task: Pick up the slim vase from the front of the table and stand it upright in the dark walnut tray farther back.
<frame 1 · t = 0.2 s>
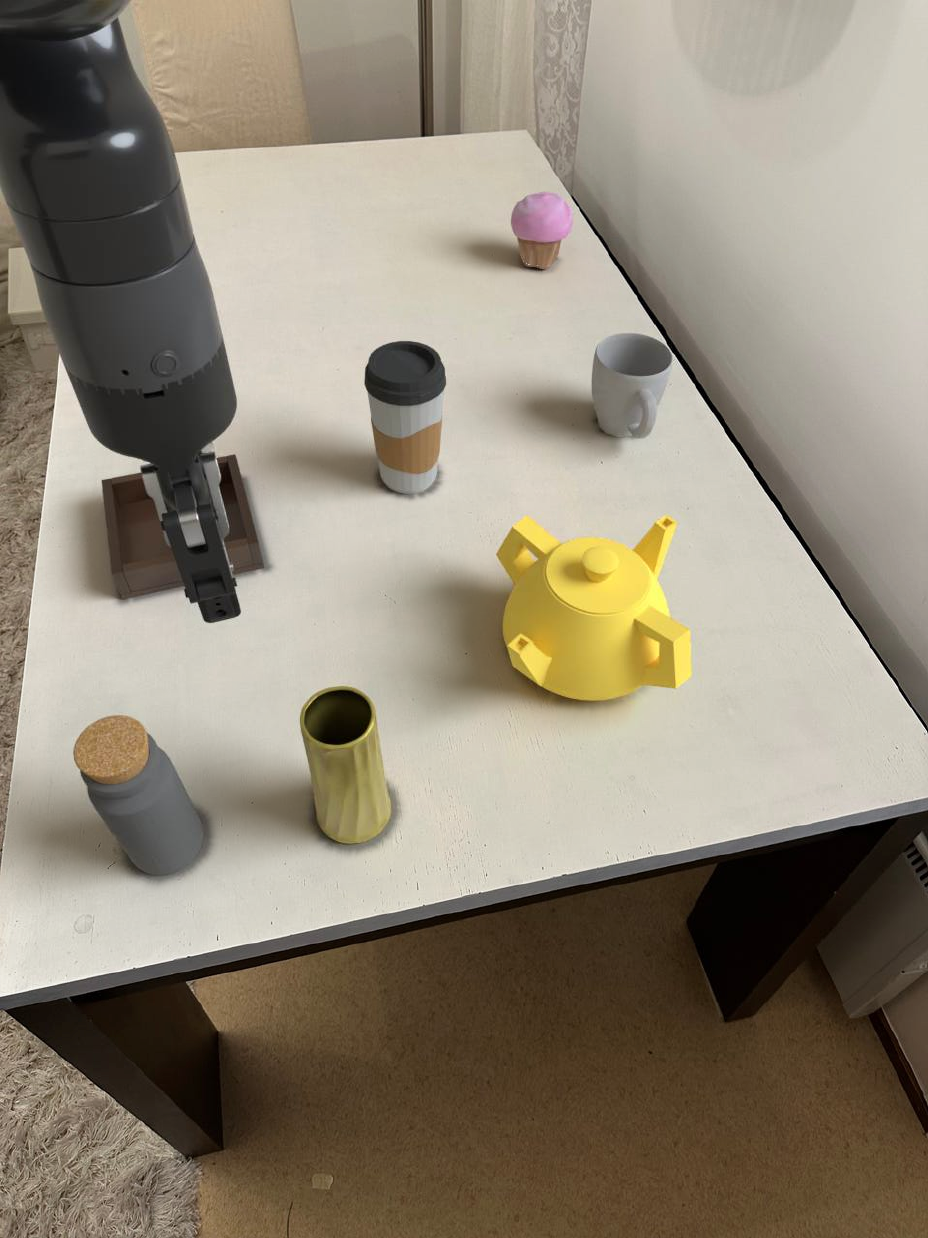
hand: (212, 566, 53), 25 cm above the table, tool pointing down, fingers open, 8 cm apart
mug: (623, 432, 101), on the table
cupcake: (537, 264, 126), on the table
vase: (354, 811, 69), on the table
tray: (186, 536, 89), on the table
bottle: (168, 842, 67), on the table
teapot: (582, 645, 81), on the table
coffee cup: (408, 477, 95), on the table
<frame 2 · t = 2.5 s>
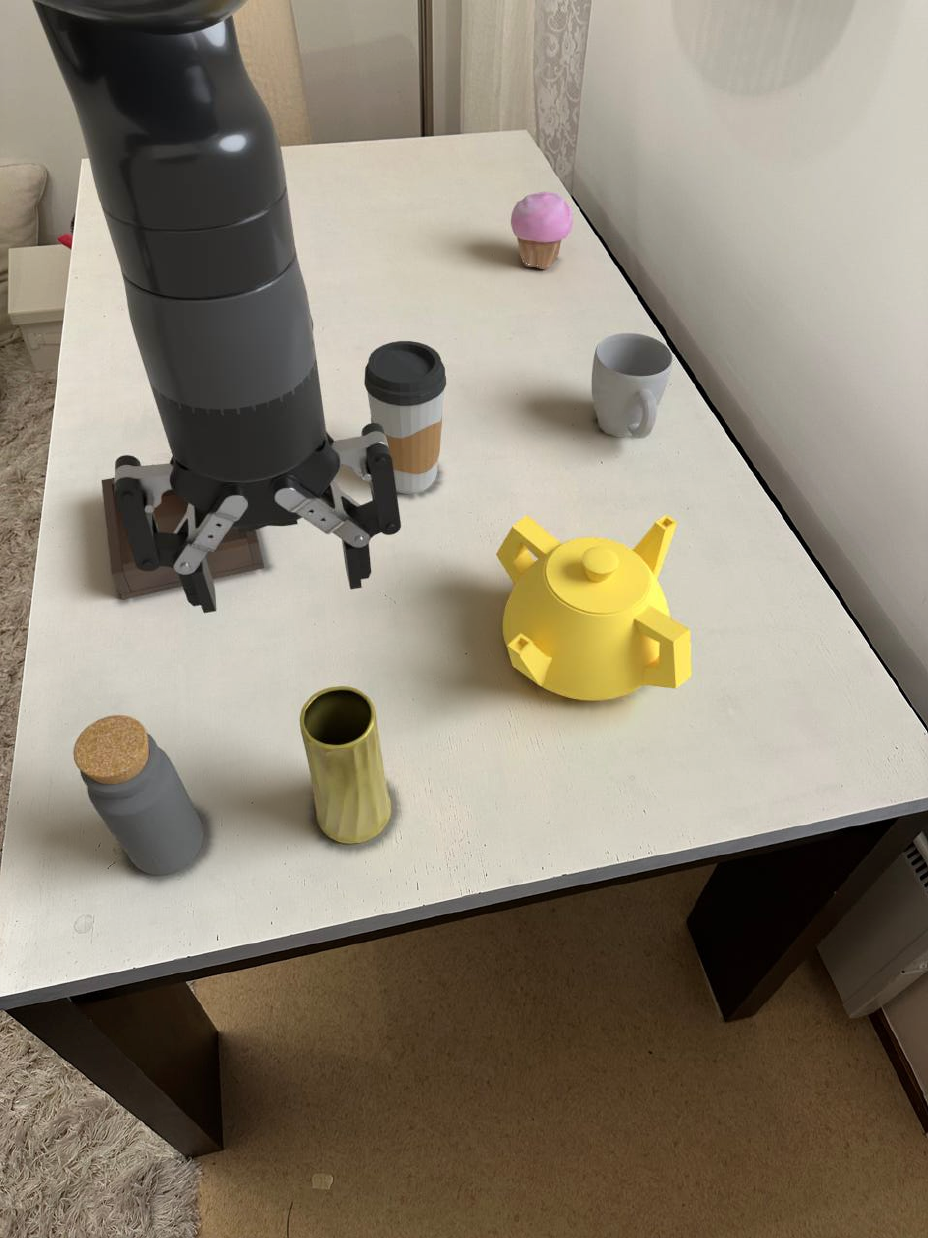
hand: (283, 590, 50), 26 cm above the table, tool pointing down, fingers open, 8 cm apart
nothing on the table moved.
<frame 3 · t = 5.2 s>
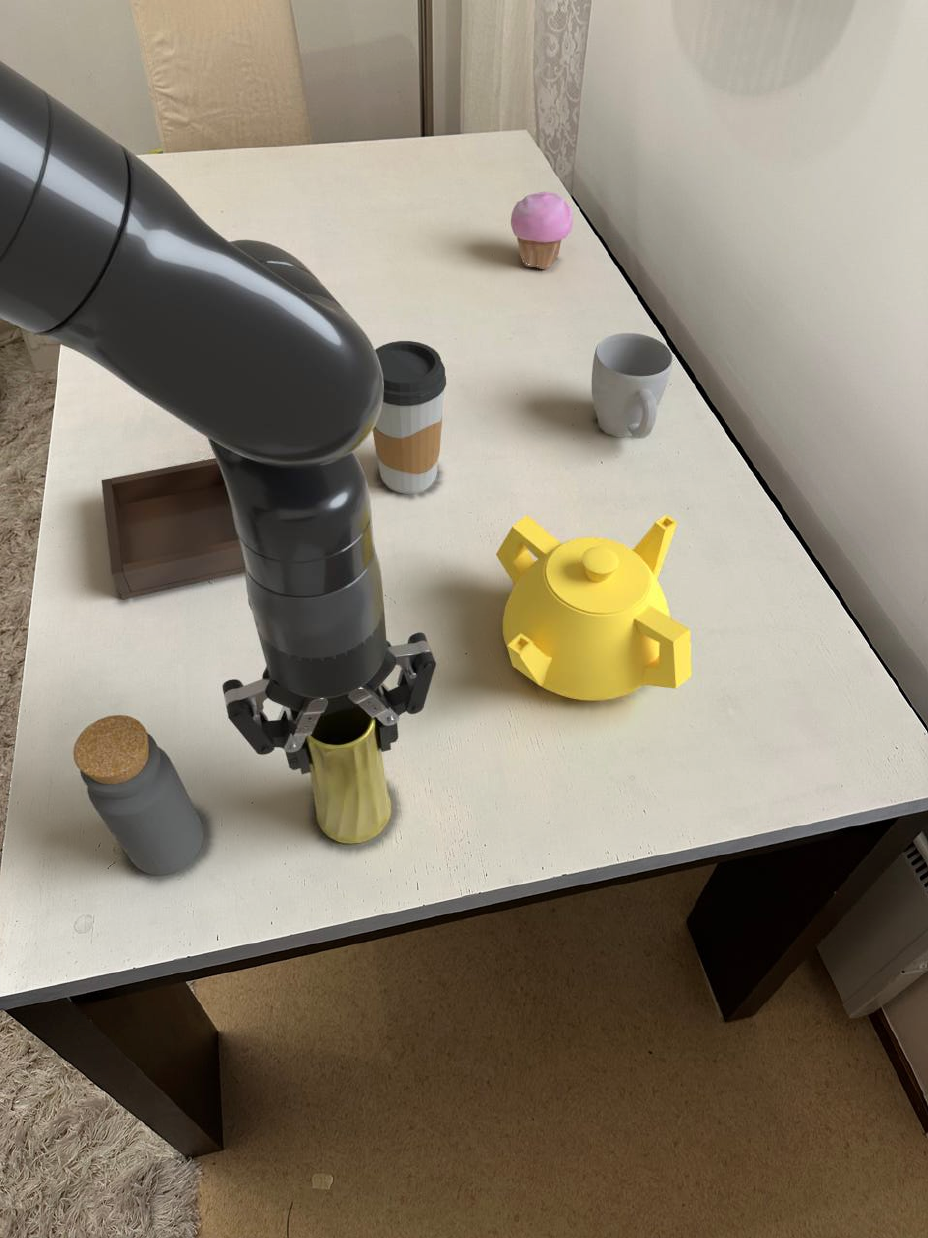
hand: (344, 751, 62), 9 cm above the table, tool pointing down, fingers closed on vase, 5 cm apart
vase: (354, 811, 69), on the table, touching gripper
everything else where it was.
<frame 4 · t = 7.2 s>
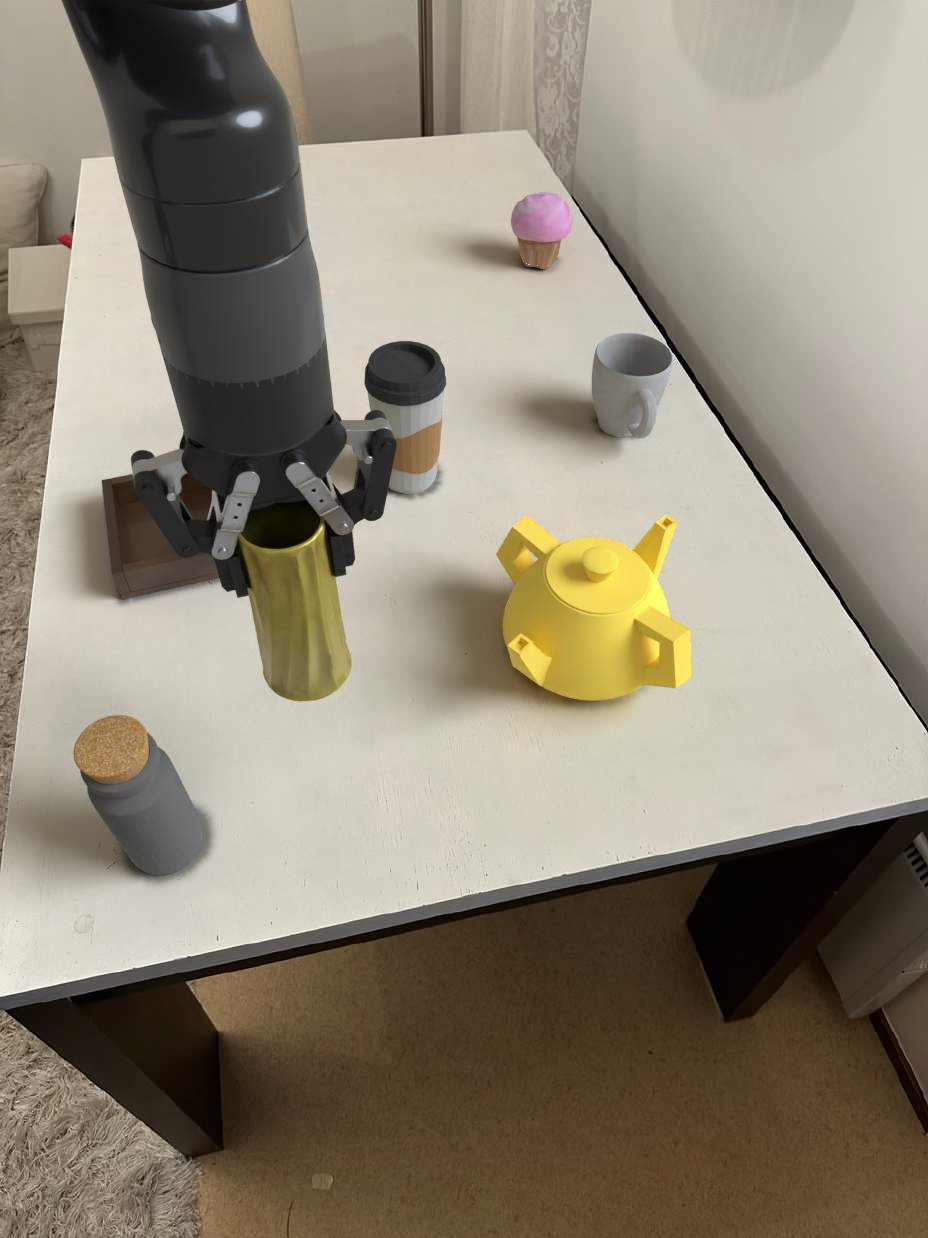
hand: (290, 575, 52), 25 cm above the table, tool pointing down, fingers closed on vase, 5 cm apart
vase: (308, 668, 59), point 16 cm above the table, touching gripper
everything else where it was.
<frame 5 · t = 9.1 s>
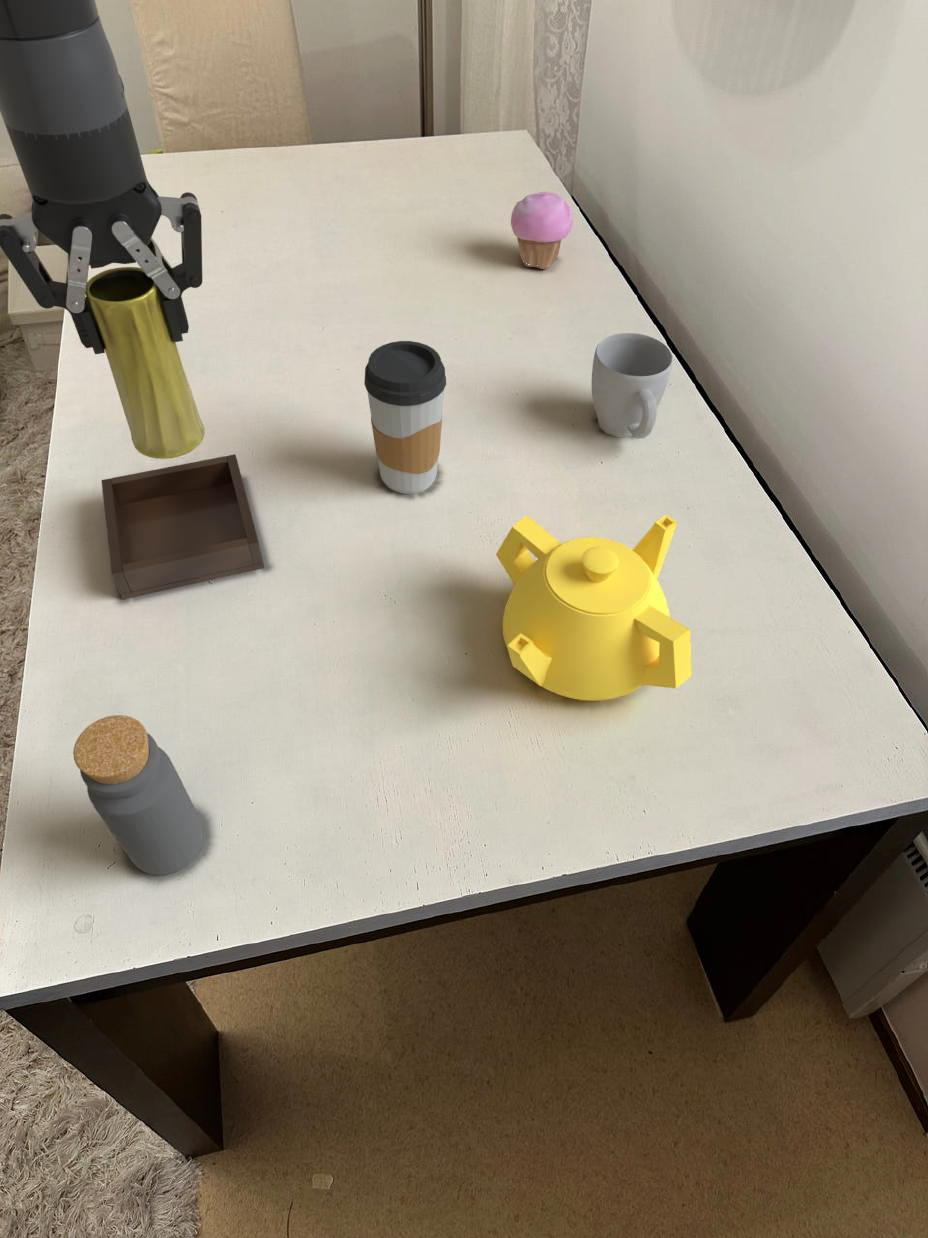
hand: (139, 341, 66), 26 cm above the table, tool pointing down, fingers closed on vase, 5 cm apart
vase: (170, 439, 74), point 16 cm above the table, touching gripper
everything else where it was.
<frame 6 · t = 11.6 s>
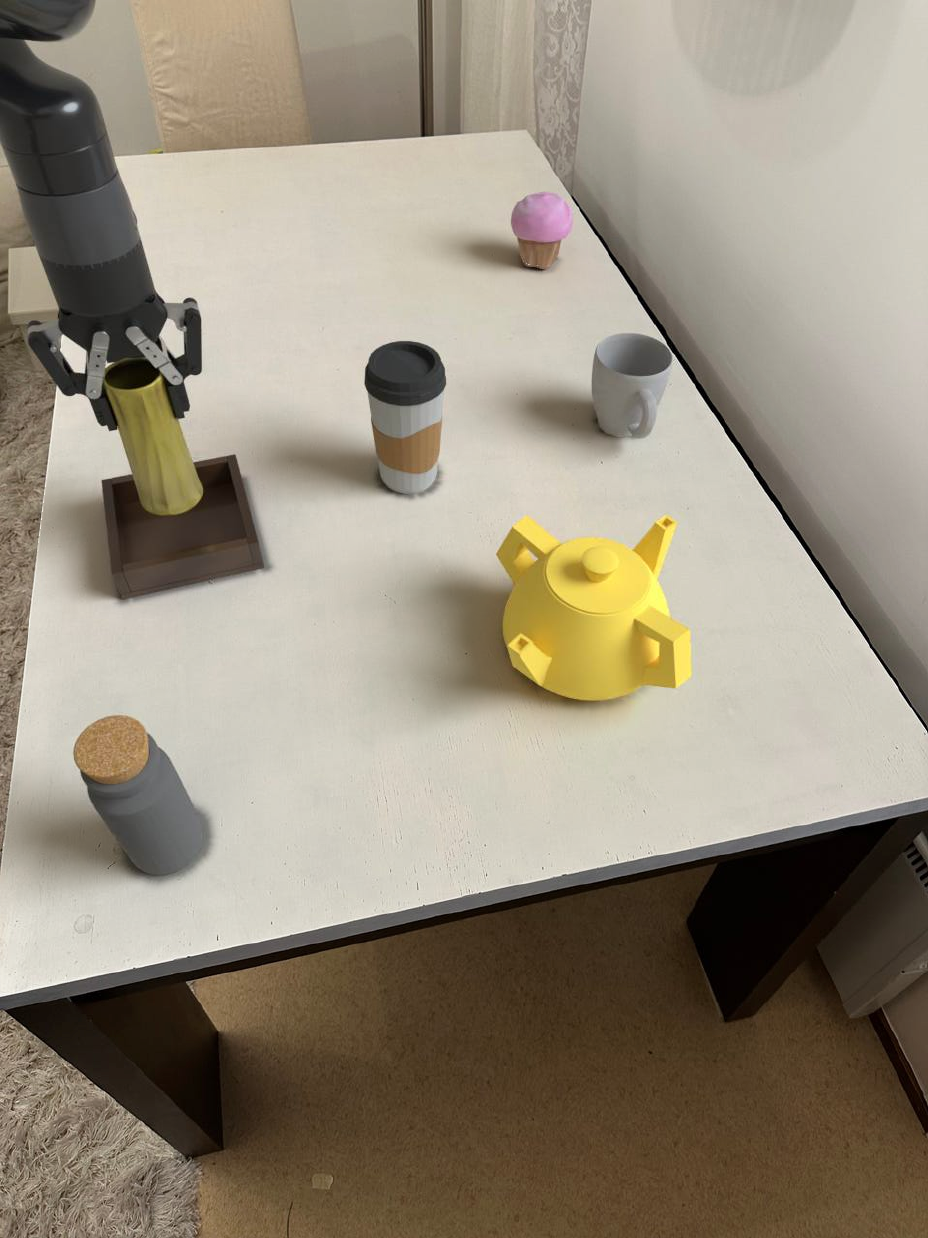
hand: (147, 418, 77), 15 cm above the table, tool pointing down, fingers closed on vase, 5 cm apart
vase: (172, 497, 84), point 6 cm above the table, touching gripper
everything else where it was.
when the fingers open (10 cm above the table, at t = 13.3 s): vase stays where it is, resting on tray.
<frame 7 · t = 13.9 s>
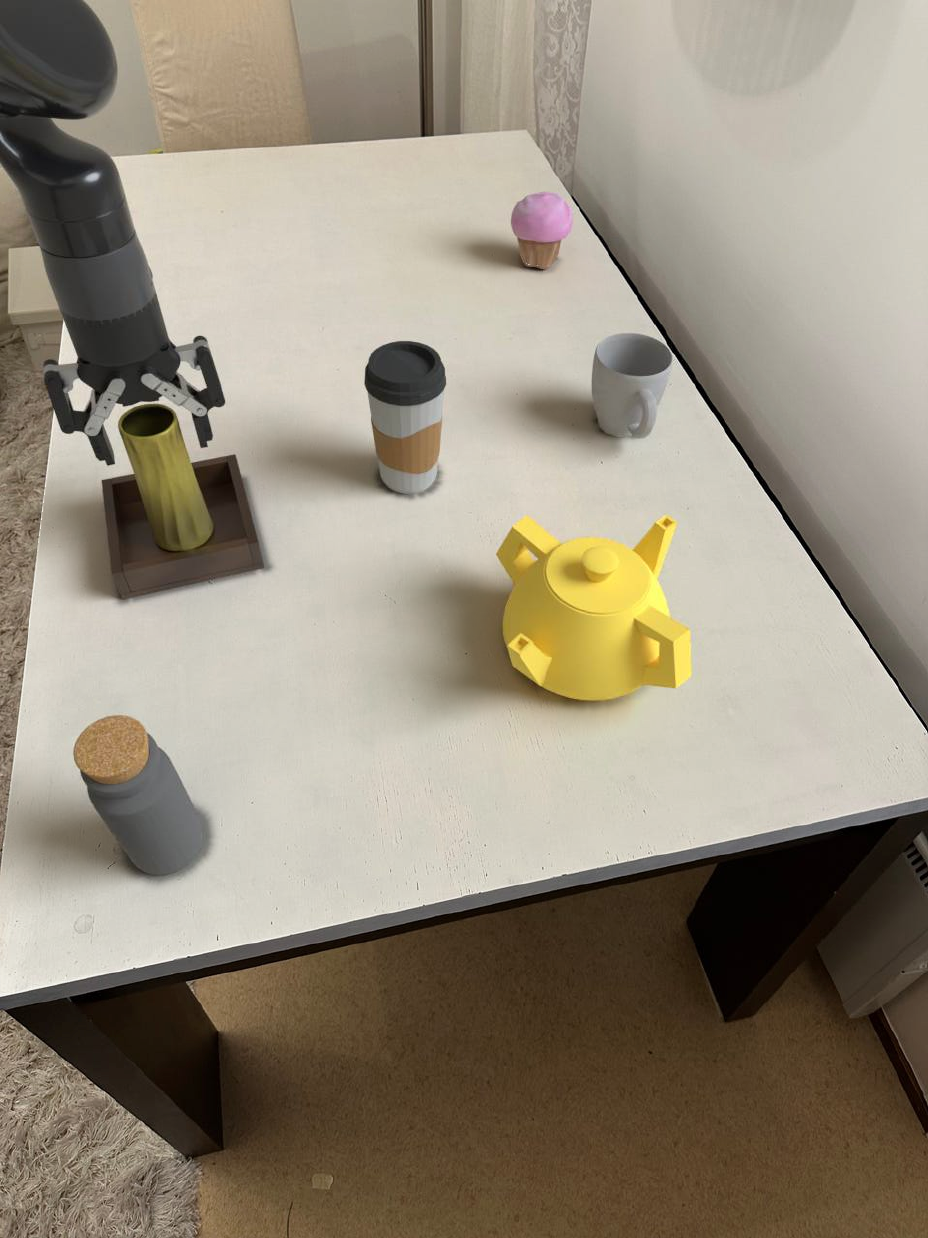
hand: (157, 450, 80), 11 cm above the table, tool pointing down, fingers open, 8 cm apart
vase: (184, 533, 88), point 1 cm above the table, touching tray
everything else where it was.
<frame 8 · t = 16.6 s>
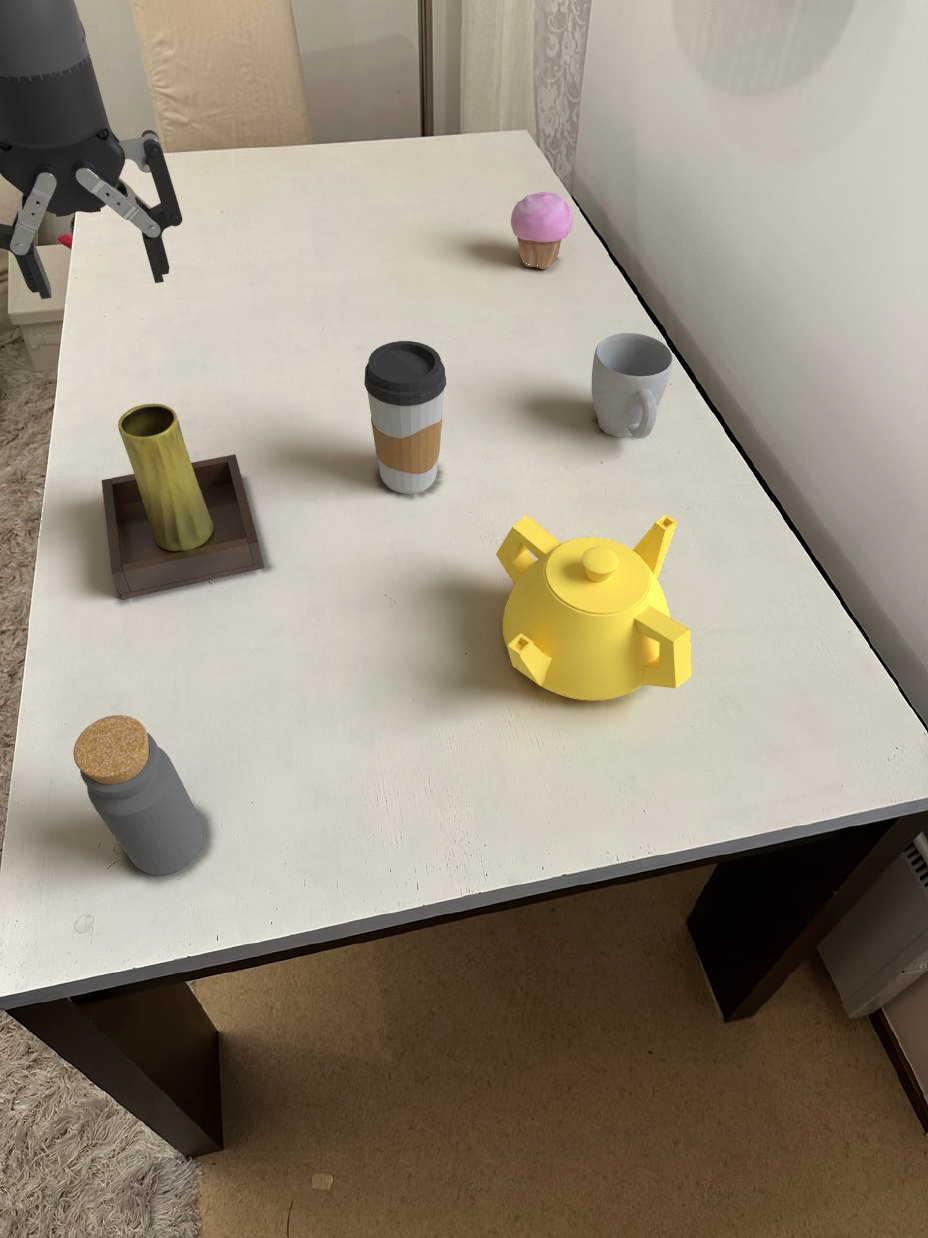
hand: (103, 285, 67), 28 cm above the table, tool pointing down, fingers open, 8 cm apart
nothing on the table moved.
at the end: vase inside the target area in the tray (0.1 cm from its centre), point 0.6 cm above the tray's base; vase tilted 0°; the gripper is holding nothing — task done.
